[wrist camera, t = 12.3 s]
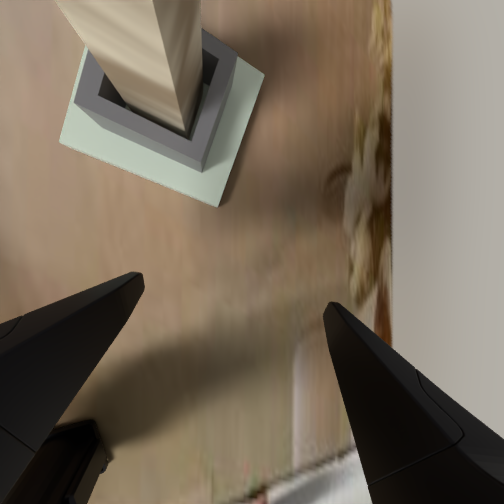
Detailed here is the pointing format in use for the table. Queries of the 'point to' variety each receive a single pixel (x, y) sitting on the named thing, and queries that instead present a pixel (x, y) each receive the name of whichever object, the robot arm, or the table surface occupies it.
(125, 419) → the table surface
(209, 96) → the socket holder
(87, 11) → the plug block
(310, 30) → the table surface
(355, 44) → the table surface
